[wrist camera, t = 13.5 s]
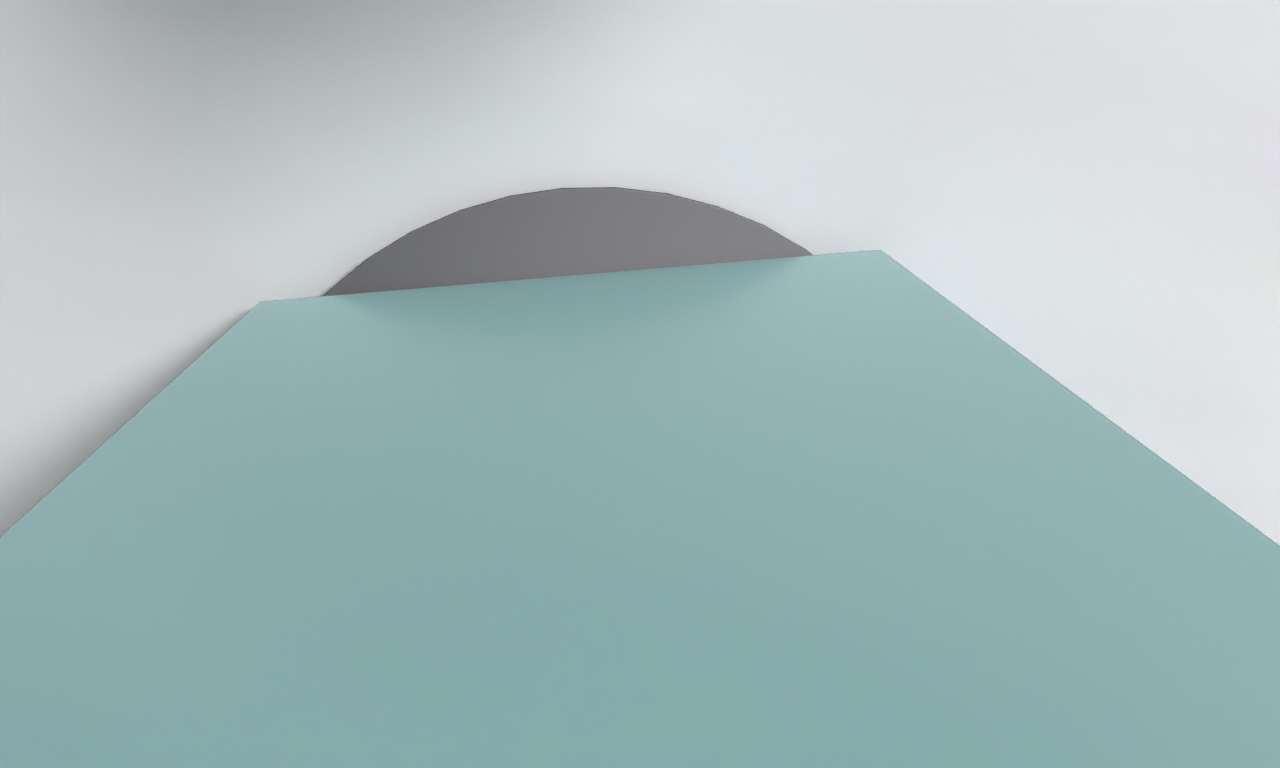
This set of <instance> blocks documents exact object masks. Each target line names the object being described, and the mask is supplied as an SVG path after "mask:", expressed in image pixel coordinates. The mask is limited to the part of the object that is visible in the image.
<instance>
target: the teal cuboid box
mask: <svg viewBox="0 0 1280 768" xmlns="http://www.w3.org/2000/svg"><path fill="white" fill-rule="evenodd" d="M0 768H1280V546H1279V545H1278V544H1277V543H1275V542H1274V541H1272V540H1271V539H1270V538H1268V537H1267V536H1266V535H1264V534H1263V533H1262V532H1260V531H1259V530H1258V529H1256V528H1255V527H1254V526H1252V525H1251V524H1250V523H1248V522H1247V521H1246V520H1244V519H1243V518H1241V517H1240V516H1239V515H1237V514H1236V513H1235V512H1233V511H1232V510H1231V509H1229V508H1228V507H1227V506H1225V505H1224V504H1223V503H1221V502H1220V501H1219V500H1217V499H1216V498H1215V497H1213V496H1212V495H1210V494H1209V493H1208V492H1206V491H1205V490H1204V489H1202V488H1201V487H1200V486H1198V485H1197V484H1196V483H1194V482H1193V481H1192V480H1190V479H1189V478H1188V477H1186V476H1185V475H1184V474H1182V473H1181V472H1179V471H1178V470H1177V469H1175V468H1174V467H1173V466H1171V465H1170V464H1169V463H1167V462H1166V461H1165V460H1163V459H1162V458H1161V457H1159V456H1158V455H1157V454H1155V453H1154V452H1152V451H1151V450H1150V449H1148V448H1147V447H1146V446H1144V445H1143V444H1142V443H1140V442H1139V441H1138V440H1136V439H1135V438H1134V437H1132V436H1131V435H1130V434H1128V433H1127V432H1126V431H1124V430H1123V429H1121V428H1120V427H1119V426H1117V425H1116V424H1115V423H1113V422H1112V421H1111V420H1109V419H1108V418H1107V417H1105V416H1104V415H1103V414H1101V413H1100V412H1099V411H1097V410H1096V409H1095V408H1093V407H1092V406H1090V405H1089V404H1088V403H1086V402H1085V401H1084V400H1082V399H1081V398H1080V397H1078V396H1077V395H1076V394H1074V393H1073V392H1072V391H1070V390H1069V389H1068V388H1066V387H1065V386H1064V385H1062V384H1061V383H1059V382H1058V381H1057V380H1055V379H1054V378H1053V377H1051V376H1050V375H1049V374H1047V373H1046V372H1045V371H1043V370H1042V369H1041V368H1039V367H1038V366H1037V365H1035V364H1034V363H1032V362H1031V361H1030V360H1028V359H1027V358H1026V357H1024V356H1023V355H1022V354H1020V353H1019V352H1018V351H1016V350H1015V349H1014V348H1012V347H1011V346H1010V345H1008V344H1007V343H1006V342H1004V341H1003V340H1001V339H1000V338H999V337H997V336H996V335H995V334H993V333H992V332H991V331H989V330H988V329H987V328H985V327H984V326H983V325H981V324H980V323H979V322H977V321H976V320H975V319H973V318H972V317H970V316H969V315H968V314H966V313H965V312H964V311H962V310H961V309H960V308H958V307H957V306H956V305H954V304H953V303H952V302H950V301H949V300H948V299H946V298H945V297H944V296H942V295H941V294H939V293H938V292H937V291H935V290H934V289H933V288H931V287H930V286H929V285H927V284H926V283H925V282H923V281H922V280H921V279H919V278H918V277H917V276H915V275H914V274H912V273H911V272H910V271H908V270H907V269H906V268H904V267H903V266H902V265H900V264H899V263H898V262H896V261H895V260H894V259H892V258H891V257H890V256H888V255H887V254H886V253H884V252H883V251H881V250H871V251H859V252H847V253H836V254H824V255H812V256H800V257H788V258H776V259H764V260H752V261H740V262H728V263H716V264H704V265H692V266H680V267H668V268H656V269H644V270H632V271H620V272H608V273H596V274H585V275H573V276H561V277H549V278H537V279H525V280H513V281H501V282H489V283H477V284H465V285H453V286H441V287H429V288H417V289H405V290H393V291H381V292H369V293H357V294H345V295H334V296H322V297H310V298H298V299H286V300H274V301H262V302H259V303H258V304H257V305H256V306H255V307H254V308H253V309H252V310H250V311H249V312H248V313H247V314H246V315H245V316H244V317H243V318H242V319H240V320H239V321H238V322H237V323H236V324H235V325H234V326H233V327H232V328H231V329H229V330H228V331H227V332H226V333H225V334H224V335H223V336H222V337H221V338H220V339H218V340H217V341H216V342H215V343H214V344H213V345H212V346H211V347H210V348H208V349H207V350H206V351H205V352H204V353H203V354H202V355H201V356H200V357H199V358H197V359H196V360H195V361H194V362H193V363H192V364H191V365H190V366H189V367H187V368H186V369H185V370H184V371H183V372H182V373H181V374H180V375H179V376H178V377H176V378H175V379H174V380H173V381H172V382H171V383H170V384H169V385H168V386H167V387H165V388H164V389H163V390H162V391H161V392H160V393H159V394H158V395H157V396H155V397H154V398H153V399H152V400H151V401H150V402H149V403H148V404H147V405H146V406H144V407H143V408H142V409H141V410H140V411H139V412H138V413H137V414H136V415H135V416H133V417H132V418H131V419H130V420H129V421H128V422H127V423H126V424H125V425H123V426H122V427H121V428H120V429H119V430H118V431H117V432H116V433H115V434H114V435H112V436H111V437H110V438H109V439H108V440H107V441H106V442H105V443H104V444H102V445H101V446H100V447H99V448H98V449H97V450H96V451H95V452H94V453H93V454H91V455H90V456H89V457H88V458H87V459H86V460H85V461H84V462H83V463H82V464H80V465H79V466H78V467H77V468H76V469H75V470H74V471H73V472H72V473H70V474H69V475H68V476H67V477H66V478H65V479H64V480H63V481H62V482H61V483H59V484H58V485H57V486H56V487H55V488H54V489H53V490H52V491H51V492H50V493H48V494H47V495H46V496H45V497H44V498H43V499H42V500H41V501H40V502H38V503H37V504H36V505H35V506H34V507H33V508H32V509H31V510H30V511H29V512H27V513H26V514H25V515H24V516H23V517H22V518H21V519H20V520H19V521H17V522H16V523H15V524H14V525H13V526H12V527H11V528H10V529H9V530H8V531H6V532H5V533H4V534H3V535H2V536H1V537H0Z"/></svg>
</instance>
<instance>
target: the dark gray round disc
mask: <svg viewBox="0 0 1280 768" xmlns="http://www.w3.org/2000/svg"><path fill="white" fill-rule="evenodd" d="M800 256H812V254H811V253H810V252H808V251H807V250H806V249H804V248H802V247H801V246H799V245H797V244H795V243H794V242H792V241H790V240H789V239H787V238H785V237H783V236H782V235H780V234H778V233H776V232H775V231H773V230H771V229H770V228H768V227H766V226H764V225H762V224H760V223H757V222H755V221H752V220H750V219H747V218H745V217H742V216H740V215H738V214H735V213H733V212H730V211H728V210H725V209H723V208H720V207H718V206H714V205H710V204H706V203H703V202H699V201H695V200H691V199H687V198H683V197H679V196H675V195H671V194H668V193H659V192H651V191H642V190H634V189H625V188H617V187H603V188H560V189H553V190H546V191H539V192H533V193H526V194H519V195H512V196H508V197H504V198H501V199H497V200H494V201H490V202H487V203H483V204H480V205H476V206H473V207H469V208H466V209H462V210H459V211H457V212H455V213H452V214H450V215H448V216H445V217H443V218H441V219H439V220H436V221H434V222H432V223H429V224H427V225H425V226H423V227H420V228H418V229H416V230H413V231H411V232H410V233H408V234H407V235H405V236H403V237H402V238H400V239H398V240H397V241H395V242H394V243H392V244H390V245H389V246H387V247H385V248H384V249H382V250H380V251H379V252H377V253H376V254H374V255H372V256H371V257H369V258H368V259H367V260H365V261H364V262H363V263H362V264H360V265H359V266H358V267H357V268H356V269H354V270H353V271H352V272H351V273H350V274H348V275H347V276H346V277H345V278H344V279H342V280H341V281H340V282H339V283H338V284H336V285H335V286H334V287H333V288H331V289H330V290H329V291H328V293H327V294H326V295H325V296H334V295H345V294H357V293H369V292H381V291H393V290H405V289H417V288H429V287H441V286H453V285H465V284H477V283H489V282H501V281H513V280H525V279H537V278H549V277H561V276H573V275H585V274H596V273H608V272H620V271H632V270H644V269H656V268H668V267H680V266H692V265H704V264H716V263H728V262H740V261H752V260H764V259H776V258H788V257H800Z"/></svg>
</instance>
